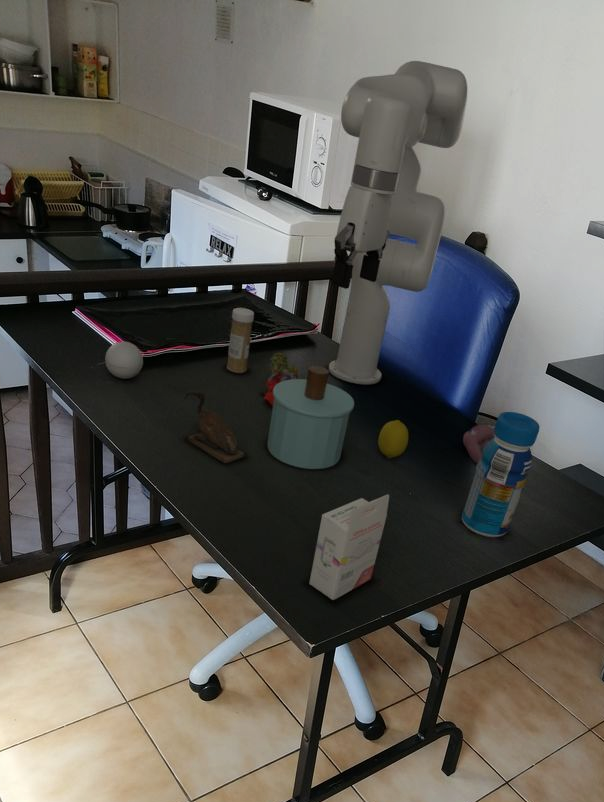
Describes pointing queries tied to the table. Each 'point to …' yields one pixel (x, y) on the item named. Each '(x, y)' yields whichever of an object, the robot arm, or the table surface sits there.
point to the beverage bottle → (501, 475)
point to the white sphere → (124, 360)
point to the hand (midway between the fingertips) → (354, 282)
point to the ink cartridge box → (348, 546)
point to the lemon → (393, 439)
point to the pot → (305, 438)
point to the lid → (313, 395)
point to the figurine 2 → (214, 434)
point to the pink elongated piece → (478, 440)
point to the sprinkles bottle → (240, 340)
